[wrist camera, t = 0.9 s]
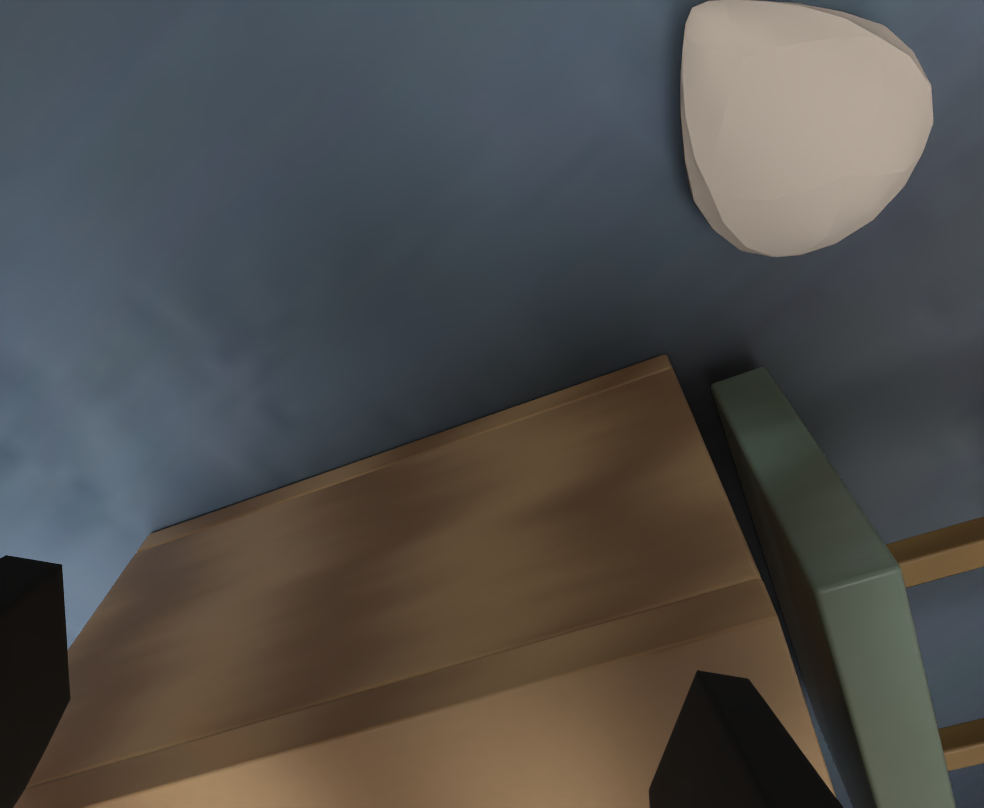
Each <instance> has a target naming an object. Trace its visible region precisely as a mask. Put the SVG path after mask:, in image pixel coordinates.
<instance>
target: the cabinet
mask: <svg viewBox="0 0 984 808" xmlns="http://www.w3.org/2000/svg"><path fill="white" fill-rule="evenodd" d="M68 667H69V683H70V698H71V699H70V701H69V703H68V705H67V707H66V709H65V711H64V713H63V715H62V718H61V720H60V722H59V724H58V726H57V728H56V730H55V732H54V734H53V736H52V738H51V740H50V742H49V744H48V746H47V748H46V750H45V752H44V754H43V756H42V758H41V760H40V762H39V763H38V765H37V767H36V769H35V771H34V773H33V775H32V777H31V779H30V781H29V783H28V785H27V786H26V788H25V790H24V792H23V793H22V795H21V796H20V798H19V799H18V801H17V803H16V804H15V806H14V807H13V808H650V806H649V788H650V785H651V783H652V780H653V778H654V775H655V773H656V770H657V768H658V765H659V763H660V760H661V758H662V756H663V753H664V751H665V748H666V746H667V743H668V741H669V738H670V736H671V733H672V731H673V728H674V726H675V723H676V721H677V718H678V716H679V714H680V711H681V709H682V706H683V704H684V701H685V699H686V696H687V694H688V691H689V689H690V686H691V684H692V681H693V679H694V677H695V674H696V672H697V670H699V671H705V672H711V673H717V674H723V675H730V676H736V677H742V678H748V679H749V680H750V681H751V683H752V684H753V685H754V686H755V688H756V689H757V690H758V692H759V693H760V694H761V696H762V697H763V698H764V700H765V701H766V703H767V704H768V705H769V707H770V708H771V709H772V711H773V712H774V713H775V715H776V716H777V718H778V719H779V720H780V722H781V723H782V725H783V726H784V727H785V729H786V730H787V731H788V733H789V734H790V736H791V737H792V738H793V740H794V741H795V742H796V744H797V745H798V747H799V748H800V749H801V751H802V752H803V753H804V755H805V756H806V758H807V759H808V760H809V762H810V763H811V764H812V766H813V767H814V769H815V770H816V771H817V773H818V774H819V775H820V777H821V778H822V779H823V781H824V782H825V784H826V785H827V786H828V788H829V789H830V790H831V792H832V793H833V794H834V796H835V797H836V795H835V792H834V789H833V786H832V782H831V779H830V776H829V773H828V770H827V767H826V764H825V761H824V758H823V755H822V751H821V748H820V745H819V742H818V739H817V736H816V733H815V730H814V727H813V724H812V720H811V717H810V714H809V711H808V708H807V705H806V702H805V699H804V696H803V693H802V689H801V686H800V683H799V680H798V677H797V674H796V671H795V668H794V665H793V662H792V658H791V655H790V652H789V649H788V646H787V643H786V640H785V637H784V634H783V631H782V628H781V624H780V621H779V618H778V615H777V613H776V611H775V608H774V606H773V604H772V601H771V599H770V597H769V594H768V592H767V589H766V587H765V585H764V582H763V581H762V578H761V576H760V573H759V571H758V568H757V566H756V564H755V561H754V559H753V557H752V554H751V552H750V550H749V547H748V545H747V542H746V540H745V538H744V535H743V533H742V531H741V528H740V526H739V524H738V521H737V519H736V516H735V514H734V512H733V509H732V507H731V505H730V502H729V500H728V497H727V495H726V493H725V490H724V488H723V486H722V483H721V481H720V479H719V476H718V474H717V471H716V469H715V467H714V464H713V462H712V460H711V457H710V455H709V453H708V450H707V448H706V445H705V443H704V441H703V438H702V436H701V434H700V431H699V429H698V426H697V424H696V422H695V419H694V417H693V415H692V412H691V410H690V408H689V405H688V403H687V400H686V398H685V396H684V393H683V391H682V389H681V386H680V384H679V381H678V379H677V377H676V374H675V372H674V370H673V367H672V365H671V363H670V360H669V358H668V356H667V355H661V356H658V357H655V358H652V359H650V360H647V361H644V362H641V363H638V364H635V365H632V366H630V367H627V368H624V369H621V370H618V371H615V372H612V373H610V374H607V375H604V376H601V377H598V378H595V379H592V380H590V381H587V382H584V383H581V384H578V385H575V386H572V387H569V388H567V389H564V390H561V391H558V392H555V393H552V394H549V395H547V396H544V397H541V398H538V399H535V400H532V401H529V402H527V403H524V404H521V405H518V406H515V407H512V408H509V409H507V410H504V411H501V412H498V413H495V414H492V415H489V416H486V417H484V418H481V419H478V420H475V421H472V422H469V423H466V424H464V425H461V426H458V427H455V428H452V429H449V430H446V431H444V432H441V433H438V434H435V435H432V436H429V437H426V438H424V439H421V440H418V441H415V442H412V443H409V444H406V445H404V446H401V447H398V448H395V449H392V450H389V451H386V452H383V453H381V454H378V455H375V456H372V457H369V458H366V459H363V460H361V461H358V462H355V463H352V464H349V465H346V466H343V467H341V468H338V469H335V470H332V471H329V472H326V473H323V474H321V475H318V476H315V477H312V478H309V479H306V480H303V481H300V482H298V483H295V484H292V485H289V486H286V487H283V488H280V489H278V490H275V491H272V492H269V493H266V494H263V495H260V496H258V497H255V498H252V499H249V500H246V501H243V502H240V503H238V504H235V505H232V506H229V507H226V508H223V509H220V510H217V511H215V512H212V513H209V514H206V515H203V516H200V517H197V518H195V519H192V520H189V521H186V522H183V523H180V524H177V525H175V526H172V527H169V528H166V529H163V530H160V531H157V532H155V533H152V534H149V535H148V537H147V538H146V539H145V541H144V542H143V544H142V545H141V547H140V548H139V549H138V551H137V553H136V554H135V555H134V556H133V558H132V559H131V561H130V562H129V564H128V565H127V566H126V568H125V569H124V571H123V572H122V574H121V575H120V576H119V578H118V579H117V581H116V582H115V584H114V585H113V586H112V588H111V589H110V591H109V592H108V594H107V595H106V596H105V598H104V599H103V601H102V602H101V604H100V605H99V606H98V608H97V609H96V611H95V612H94V614H93V615H92V616H91V618H90V619H89V621H88V622H87V624H86V625H85V626H84V628H83V629H82V631H81V632H80V634H79V635H78V636H77V638H76V639H75V641H74V642H73V644H72V645H71V646H70V648H69V649H68Z"/></svg>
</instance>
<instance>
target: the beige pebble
mask: <svg viewBox="0 0 984 808" xmlns="http://www.w3.org/2000/svg"><path fill="white" fill-rule="evenodd" d="M680 116H681V128H682V140H683V151H684V161H685V166H686V171H687V176H688V181H689V186H690V191H691V196H692V199H693V201H694V202H695V204H696V205H697V207H698V208H699V210H700V211H701V213H702V214H703V216H704V217H705V219H706V220H707V222H708V223H709V225H710V226H711V227H712V228H713V230H715V231H716V232H717V233H718V234H720V235H721V236H722V237H724V238H725V239H726V240H728V241H729V242H730V243H731V244H733V245H734V246H735V247H737V248H738V249H739V250H741V251H744V252H749V253H755V254H760V255H765V256H771V257H783V256H794V255H802V254H805V253H808V252H811V251H814V250H818V249H821V248H824V247H827V246H830V245H833V244H836V243H837V242H839V241H841V240H842V239H844V238H845V237H847V236H848V235H850V234H852V233H853V232H855V231H856V230H858V229H860V228H861V227H863V226H864V225H866V224H867V223H869V222H871V221H872V220H874V219H875V217H876V216H877V215H878V214H879V213H880V212H881V211H882V210H883V209H884V208H885V207H886V206H887V204H888V203H889V202H890V201H891V200H892V199H893V198H894V197H895V196H896V195H897V194H898V193H899V191H900V190H901V189H902V188H903V187H904V186H905V184H906V182H907V181H908V179H909V177H910V175H911V173H912V171H913V170H914V168H915V166H916V164H917V162H918V160H919V159H920V157H921V155H922V153H923V151H924V148H925V145H926V142H927V139H928V136H929V133H930V131H931V128H932V125H933V106H932V91H931V84H930V82H929V80H928V78H927V77H926V75H925V73H924V71H923V69H922V67H921V65H920V63H919V61H918V60H917V58H916V56H915V54H914V52H913V51H912V50H911V49H910V48H909V47H908V46H907V45H906V44H905V43H903V42H902V41H901V40H900V39H899V38H898V37H897V36H896V35H895V34H894V33H892V32H891V31H890V30H889V29H888V28H887V27H886V26H884V25H881V24H878V23H875V22H872V21H869V20H866V19H863V18H860V17H857V16H854V15H851V14H848V13H845V12H841V11H836V10H831V9H826V8H820V7H815V6H810V5H805V4H799V3H789V2H772V1H751V0H721V1H707V2H705V3H702V4H700V5H697V6H695V7H692V10H691V12H690V14H689V17H688V19H687V22H686V24H685V33H684V42H683V52H682V64H681V83H680Z"/></svg>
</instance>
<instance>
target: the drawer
mask: <svg viewBox="0 0 984 808" xmlns="http://www.w3.org/2000/svg"><path fill="white" fill-rule="evenodd" d="M711 391H712V394H713V397H714V400H715V403H716V406H717V410H718V413H719V416H720V419H721V422H722V425H723V428H724V431H725V435H726V438H727V441H728V444H729V447H730V450H731V453H732V457H733V460H734V463H735V466H736V469H737V472H738V475H739V479H740V482H741V485H742V488H743V491H744V494H745V497H746V500H747V504H748V507H749V510H750V513H751V516H752V519H753V522H754V526H755V529H756V532H757V535H758V538H759V541H760V544H761V547H762V551H763V554H764V557H765V560H766V563H767V566H768V569H769V573H770V576H771V579H772V582H773V585H774V588H775V591H776V595H777V598H778V601H779V604H780V607H781V610H782V613H783V616H784V620H785V623H786V626H787V629H788V632H789V635H790V638H791V642H792V645H793V648H794V651H795V654H796V657H797V660H798V664H799V667H800V670H801V673H802V676H803V679H804V682H805V685H806V689H807V692H808V695H809V698H810V701H811V704H812V707H813V711H814V714H815V717H816V719H817V721H818V724H819V726H820V729H821V731H822V733H823V736H824V738H825V741H826V743H827V745H828V748H829V750H830V753H831V755H832V757H833V760H834V762H835V765H836V767H837V769H838V772H839V774H840V777H841V779H842V781H843V784H844V786H845V789H846V791H847V793H848V796H849V798H850V801H851V803H852V806H853V808H956V804H955V800H954V795H953V791H952V787H951V782H950V778H949V774H948V771H951V770H956V769H960V768H964V767H969V766H973V765H977V764H982V763H984V718H981V719H977V720H973V721H969V722H965V723H961V724H956V725H952V726H948V727H944V728H940V729H938V726H937V722H936V717H935V713H934V709H933V704H932V700H931V696H930V691H929V687H928V683H927V678H926V674H925V670H924V665H923V661H922V657H921V652H920V648H919V644H918V639H917V635H916V631H915V626H914V622H913V618H912V613H911V609H910V605H909V600H908V596H907V592H906V588H907V587H911V586H915V585H918V584H922V583H926V582H929V581H933V580H936V579H940V578H944V577H947V576H951V575H955V574H958V573H962V572H966V571H969V570H973V569H976V568H980V567H984V517H980V518H977V519H973V520H970V521H966V522H963V523H959V524H956V525H952V526H949V527H946V528H942V529H939V530H935V531H932V532H928V533H925V534H921V535H918V536H914V537H911V538H907V539H904V540H900V541H897V542H893V543H890V544H886V545H885V543H884V542H883V540H882V539H881V537H880V536H879V534H878V533H877V532H876V530H875V529H874V527H873V526H872V524H871V523H870V521H869V520H868V518H867V517H866V515H865V514H864V512H863V511H862V509H861V508H860V506H859V505H858V503H857V502H856V501H855V499H854V498H853V496H852V495H851V493H850V492H849V490H848V489H847V487H846V486H845V484H844V483H843V481H842V480H841V478H840V477H839V475H838V474H837V473H836V471H835V470H834V468H833V467H832V465H831V464H830V462H829V461H828V459H827V458H826V456H825V455H824V453H823V452H822V450H821V449H820V447H819V446H818V445H817V443H816V442H815V440H814V439H813V437H812V436H811V434H810V433H809V431H808V430H807V428H806V427H805V425H804V424H803V422H802V421H801V419H800V418H799V416H798V415H797V414H796V412H795V411H794V409H793V408H792V406H791V405H790V403H789V402H788V400H787V399H786V397H785V396H784V394H783V393H782V391H781V390H780V388H779V387H778V386H777V384H776V383H775V381H774V380H773V378H772V377H771V375H770V374H769V372H768V371H767V370H766V368H764V367H761V368H758V369H755V370H752V371H749V372H746V373H743V374H740V375H737V376H734V377H731V378H728V379H725V380H722V381H719V382H716V383H714V384H712V385H711Z"/></svg>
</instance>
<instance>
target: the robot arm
mask: <svg viewBox="0 0 984 808" xmlns="http://www.w3.org/2000/svg"><path fill="white" fill-rule="evenodd" d="M70 699H71V698H70V683H69V667H68V651H67V636H66V620H65V605H64V589H63V573H62V565H61V564H55V563H49V562H43V561H37V560H31V559H25V558H19V557H13V556H7V555H6V556H4V557H2V558H0V808H13V807H14V806H15V804H16V803H17V801H18V799H19V798H20V796H21V795H22V793H23V792H24V790H25V788H26V786H27V785H28V783H29V781H30V779H31V777H32V775H33V773H34V771H35V769H36V767H37V765H38V763H39V762H40V760H41V758H42V756H43V754H44V752H45V750H46V748H47V746H48V744H49V742H50V740H51V738H52V736H53V734H54V732H55V730H56V728H57V726H58V724H59V722H60V720H61V718H62V715H63V713H64V711H65V709H66V707H67V705H68V703H69V701H70ZM649 806H650V808H843V806H842V805H841V804H840V802H839V801H838V800H837V798H836V797H835V796H834V794H833V793H832V792H831V790H830V789H829V788H828V786H827V785H826V784H825V782H824V781H823V779H822V778H821V777H820V775H819V774H818V773H817V771H816V770H815V769H814V767H813V766H812V764H811V763H810V762H809V760H808V759H807V758H806V756H805V755H804V753H803V752H802V751H801V749H800V748H799V747H798V745H797V744H796V742H795V741H794V740H793V738H792V737H791V736H790V734H789V733H788V731H787V730H786V729H785V727H784V726H783V725H782V723H781V722H780V720H779V719H778V718H777V716H776V715H775V713H774V712H773V711H772V709H771V708H770V707H769V705H768V704H767V703H766V701H765V700H764V698H763V697H762V696H761V694H760V693H759V692H758V690H757V689H756V688H755V686H754V685H753V684H752V683H751V681H750V680H749V679H748V678H742V677H736V676H730V675H723V674H717V673H711V672H705V671H699V670H697V672H696V674H695V677H694V679H693V681H692V684H691V686H690V689H689V691H688V694H687V696H686V699H685V701H684V704H683V706H682V709H681V711H680V714H679V716H678V718H677V721H676V723H675V726H674V728H673V731H672V733H671V736H670V738H669V741H668V743H667V746H666V748H665V751H664V753H663V756H662V758H661V760H660V763H659V765H658V768H657V770H656V773H655V775H654V778H653V780H652V783H651V785H650V788H649Z"/></svg>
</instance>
